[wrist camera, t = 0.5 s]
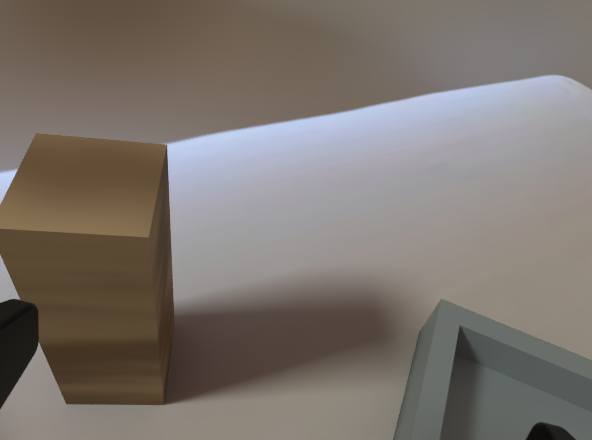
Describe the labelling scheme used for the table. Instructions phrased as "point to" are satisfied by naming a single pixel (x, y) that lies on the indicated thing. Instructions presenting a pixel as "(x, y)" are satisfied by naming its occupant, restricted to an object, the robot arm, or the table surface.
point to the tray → (490, 382)
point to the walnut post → (95, 264)
